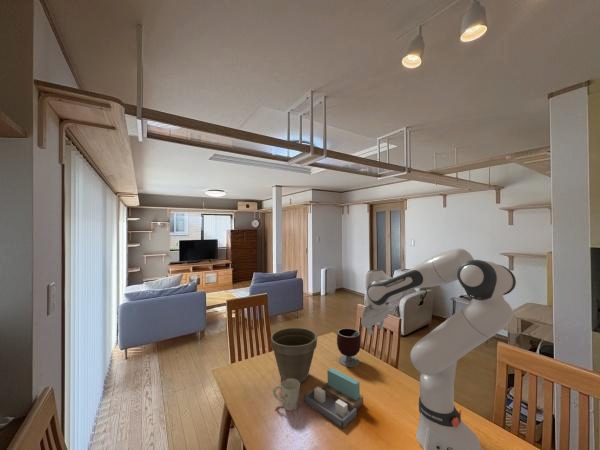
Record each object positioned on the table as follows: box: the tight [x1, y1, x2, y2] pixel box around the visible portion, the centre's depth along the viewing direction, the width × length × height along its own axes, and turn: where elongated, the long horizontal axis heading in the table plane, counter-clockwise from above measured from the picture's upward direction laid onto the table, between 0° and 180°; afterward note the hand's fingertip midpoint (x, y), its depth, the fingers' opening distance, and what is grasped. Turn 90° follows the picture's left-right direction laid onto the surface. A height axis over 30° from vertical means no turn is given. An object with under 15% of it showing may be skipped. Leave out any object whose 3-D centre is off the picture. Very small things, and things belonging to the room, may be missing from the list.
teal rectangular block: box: [326, 367, 361, 400], centre depth 117 cm, size 16×3×7 cm, turn 45°
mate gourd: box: [336, 327, 362, 368], centre depth 149 cm, size 16×14×20 cm
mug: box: [272, 378, 301, 412], centre depth 112 cm, size 8×13×10 cm, turn 78°
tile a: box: [335, 399, 348, 418], centre depth 106 cm, size 4×4×2 cm
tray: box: [303, 385, 358, 430], centre depth 110 cm, size 22×10×3 cm, turn 44°
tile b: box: [313, 386, 325, 403], centre depth 115 cm, size 4×4×2 cm
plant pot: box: [270, 327, 318, 384], centre depth 135 cm, size 25×25×22 cm
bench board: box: [320, 382, 364, 411], centre depth 116 cm, size 18×8×4 cm, turn 44°
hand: (375, 331), depth 121 cm, fingers open, 8 cm apart
